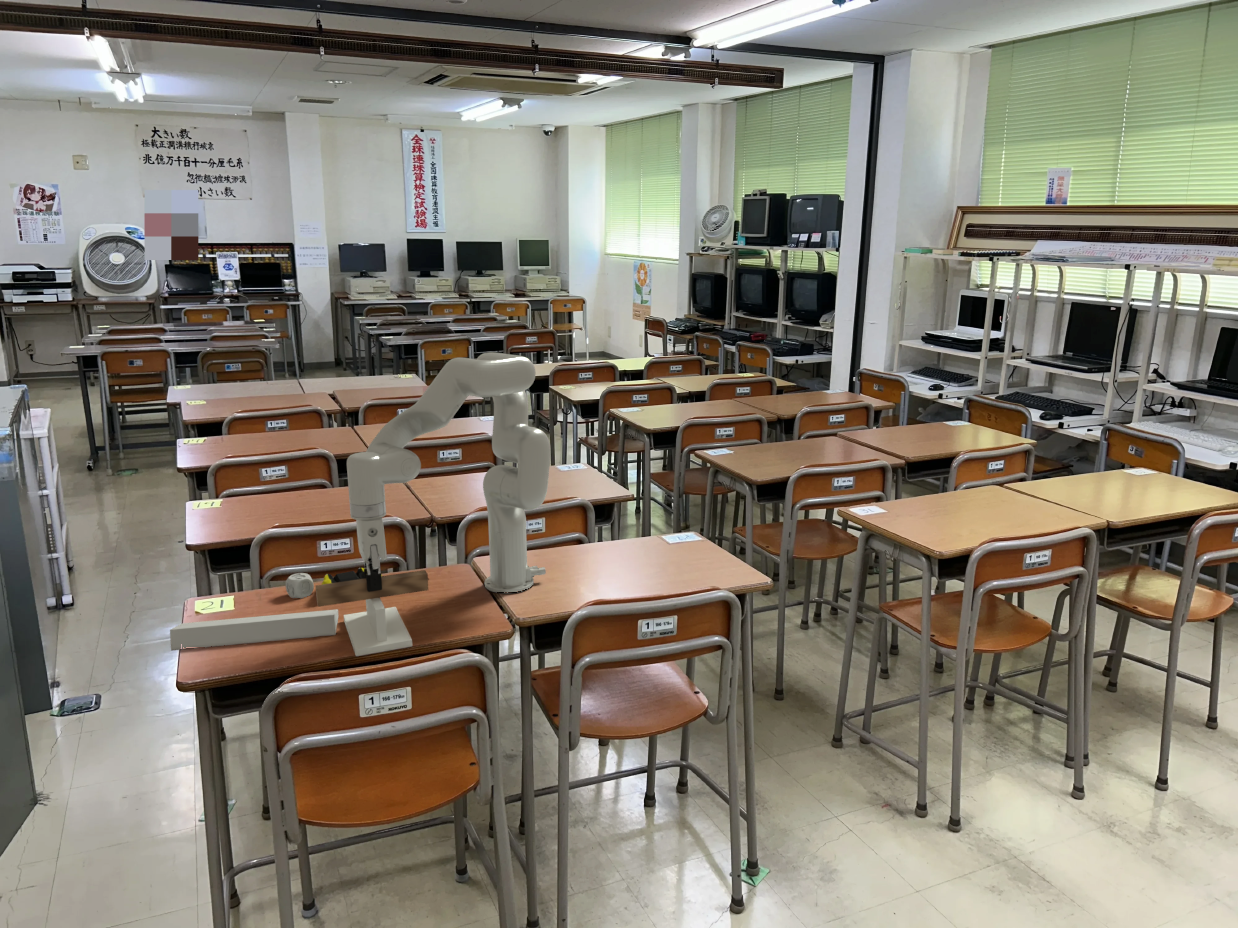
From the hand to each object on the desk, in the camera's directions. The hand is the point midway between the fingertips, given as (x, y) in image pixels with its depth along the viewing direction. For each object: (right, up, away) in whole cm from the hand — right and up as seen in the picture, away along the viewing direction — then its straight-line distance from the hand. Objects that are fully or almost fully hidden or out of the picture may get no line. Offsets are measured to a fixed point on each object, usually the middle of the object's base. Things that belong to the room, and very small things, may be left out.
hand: (373, 587), depth 197 cm
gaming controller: (-14, -5, +27) cm, 31 cm away
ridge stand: (0, -11, +3) cm, 11 cm away
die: (-25, -6, +25) cm, 36 cm away
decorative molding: (-27, -11, +3) cm, 29 cm away
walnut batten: (0, -2, +1) cm, 2 cm away
